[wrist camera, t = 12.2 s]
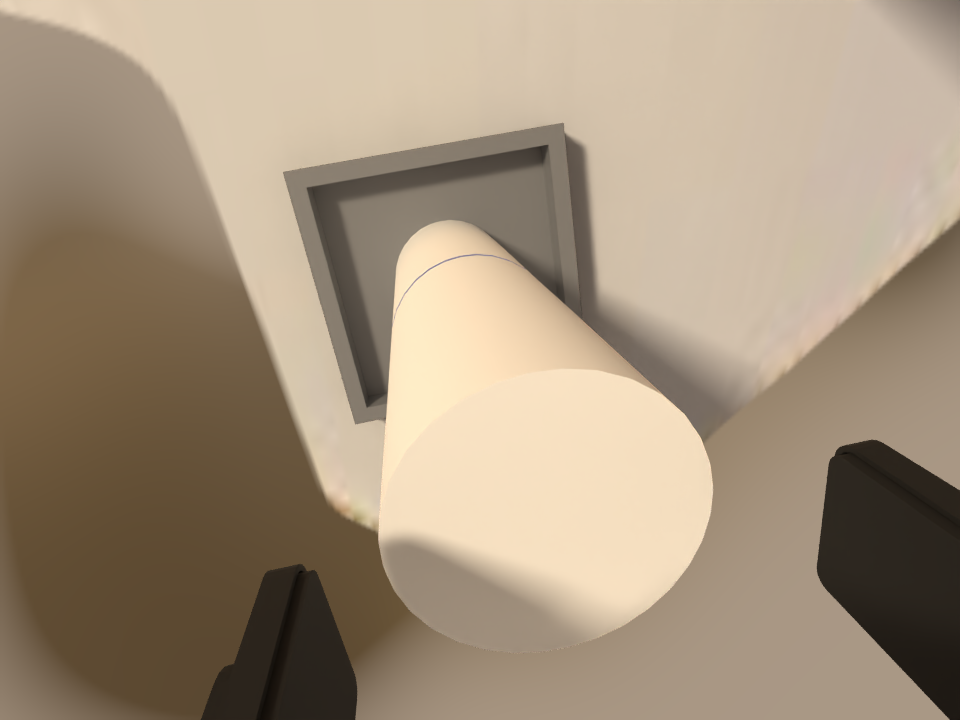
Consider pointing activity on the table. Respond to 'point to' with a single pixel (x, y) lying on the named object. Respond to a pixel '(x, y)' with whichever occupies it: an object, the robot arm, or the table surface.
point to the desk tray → (412, 206)
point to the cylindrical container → (524, 458)
